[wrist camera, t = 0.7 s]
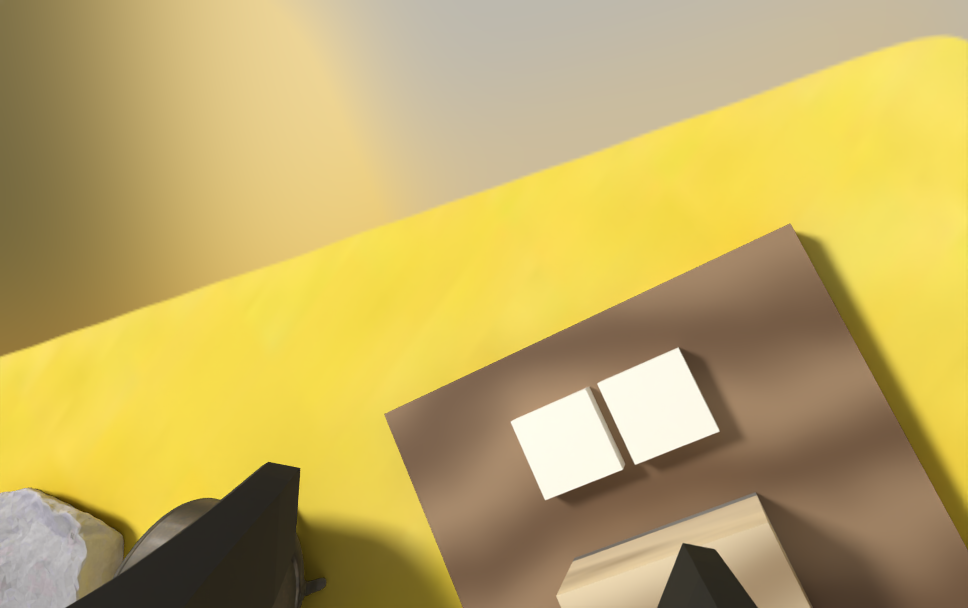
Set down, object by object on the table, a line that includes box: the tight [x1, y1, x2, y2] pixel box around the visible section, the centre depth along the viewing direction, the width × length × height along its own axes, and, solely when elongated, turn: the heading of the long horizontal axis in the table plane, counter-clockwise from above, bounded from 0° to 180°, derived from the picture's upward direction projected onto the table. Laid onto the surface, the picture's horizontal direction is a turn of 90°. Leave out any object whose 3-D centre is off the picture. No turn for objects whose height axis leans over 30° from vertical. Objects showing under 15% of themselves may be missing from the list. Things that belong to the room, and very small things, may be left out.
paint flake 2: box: [597, 347, 720, 465], centre depth 29 cm, size 4×4×1 cm
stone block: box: [0, 488, 124, 608], centre depth 42 cm, size 12×5×10 cm
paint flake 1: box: [511, 387, 625, 500], centre depth 30 cm, size 4×4×1 cm
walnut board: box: [384, 224, 968, 608], centre depth 30 cm, size 18×22×2 cm
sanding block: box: [556, 492, 813, 608], centre depth 27 cm, size 6×9×4 cm, turn 116°
